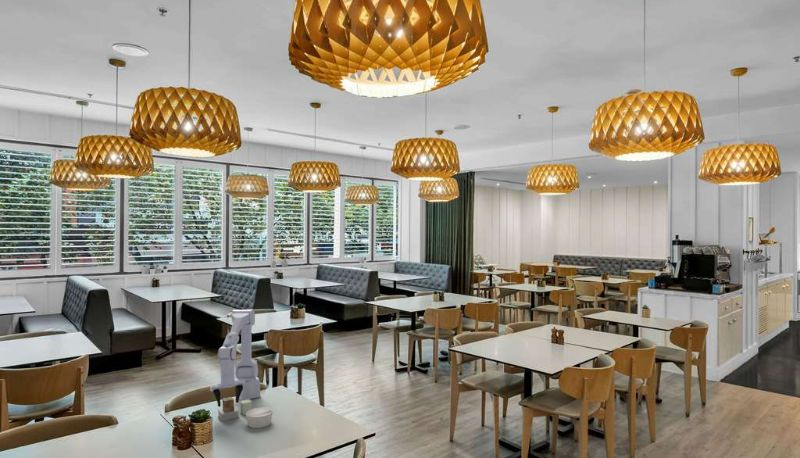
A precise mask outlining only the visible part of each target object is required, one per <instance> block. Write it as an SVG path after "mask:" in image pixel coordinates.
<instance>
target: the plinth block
mask: <svg viewBox="0 0 800 458" xmlns="http://www.w3.org/2000/svg"><path fill="white" fill-rule="evenodd" d="M217 412H218V418H219V419H220V421H221V422H225V421H229V420H234V419H238V418H240V417H239V416H240V415H239V412H240V410H239V409H238V408H237V407H236V406H235V405H234V411H230V412H224V411H223V408H220V409H218V411H217Z"/></svg>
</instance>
